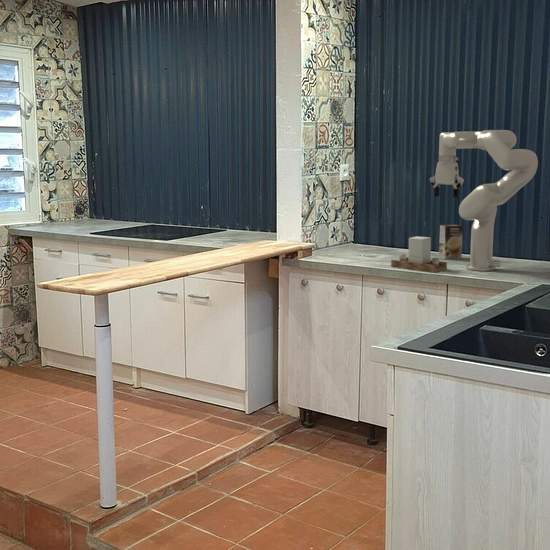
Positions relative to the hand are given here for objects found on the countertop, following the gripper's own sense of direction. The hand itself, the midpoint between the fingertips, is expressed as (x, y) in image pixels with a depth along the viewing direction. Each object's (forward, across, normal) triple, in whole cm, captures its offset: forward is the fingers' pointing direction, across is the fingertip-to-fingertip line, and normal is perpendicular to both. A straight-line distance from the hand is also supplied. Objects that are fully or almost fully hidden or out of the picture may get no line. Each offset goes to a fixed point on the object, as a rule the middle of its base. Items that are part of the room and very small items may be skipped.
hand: (446, 197), depth 363 cm
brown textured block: (+30, 0, +22) cm, 37 cm away
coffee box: (+31, +3, -11) cm, 33 cm away
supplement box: (+29, 0, +22) cm, 37 cm away
